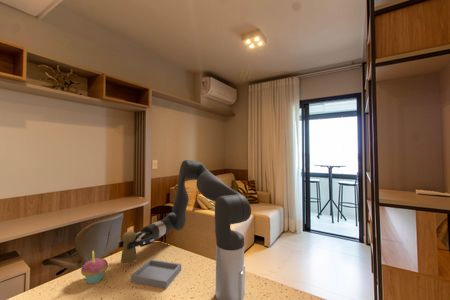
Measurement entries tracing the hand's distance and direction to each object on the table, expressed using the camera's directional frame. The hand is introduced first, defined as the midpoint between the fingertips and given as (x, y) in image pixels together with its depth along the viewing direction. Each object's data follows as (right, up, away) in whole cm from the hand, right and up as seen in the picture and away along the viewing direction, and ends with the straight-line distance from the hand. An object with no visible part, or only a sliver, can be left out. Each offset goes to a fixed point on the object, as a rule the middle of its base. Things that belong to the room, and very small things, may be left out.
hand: (123, 246), depth 85 cm
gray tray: (+15, -10, -4) cm, 18 cm away
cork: (+1, -7, +3) cm, 7 cm away
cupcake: (-8, -10, -6) cm, 14 cm away
